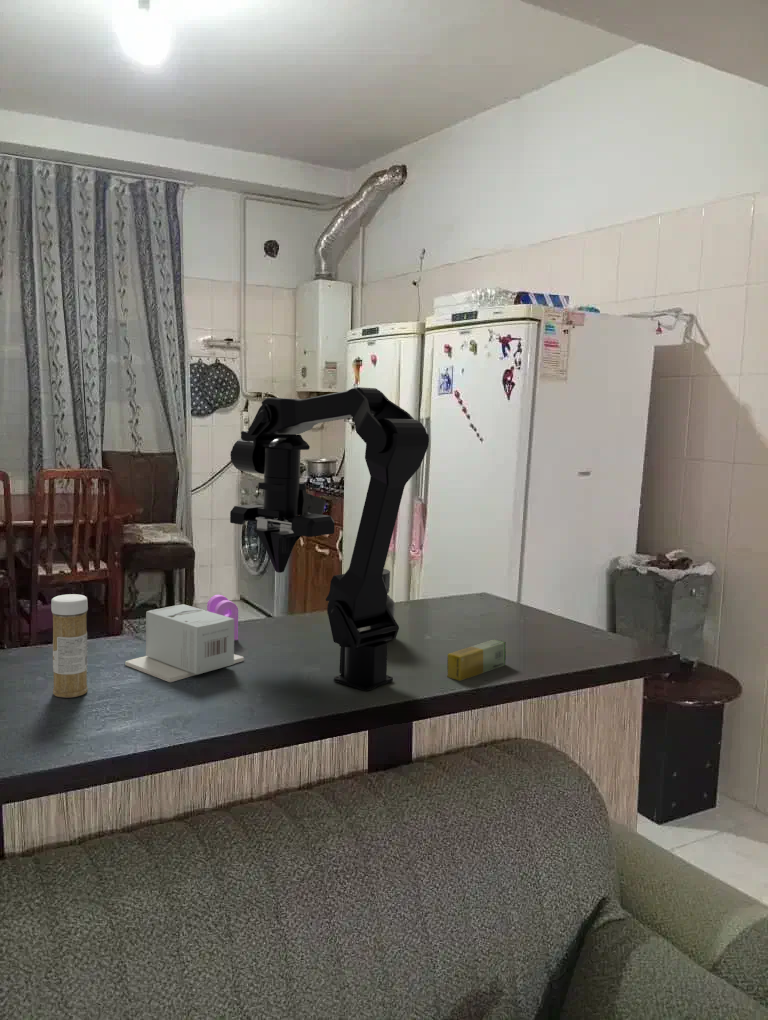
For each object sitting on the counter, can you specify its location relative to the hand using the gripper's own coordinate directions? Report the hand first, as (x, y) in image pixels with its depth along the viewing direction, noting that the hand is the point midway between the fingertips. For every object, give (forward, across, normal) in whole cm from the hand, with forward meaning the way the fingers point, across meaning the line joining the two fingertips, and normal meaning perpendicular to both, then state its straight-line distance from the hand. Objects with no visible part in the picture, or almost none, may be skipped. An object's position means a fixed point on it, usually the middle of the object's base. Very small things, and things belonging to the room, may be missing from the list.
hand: (279, 572), depth 132 cm
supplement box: (+9, -3, +15) cm, 18 cm away
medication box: (+13, -29, -14) cm, 35 cm away
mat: (+13, +5, +15) cm, 20 cm away
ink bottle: (+13, -6, -16) cm, 22 cm away
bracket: (+13, +14, +6) cm, 20 cm away
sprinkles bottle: (+13, +5, +34) cm, 37 cm away
